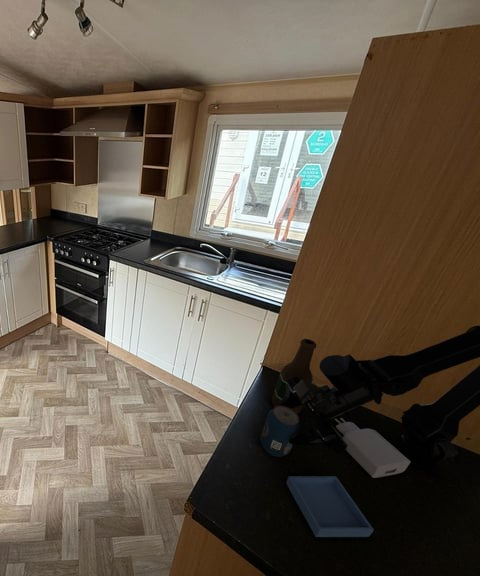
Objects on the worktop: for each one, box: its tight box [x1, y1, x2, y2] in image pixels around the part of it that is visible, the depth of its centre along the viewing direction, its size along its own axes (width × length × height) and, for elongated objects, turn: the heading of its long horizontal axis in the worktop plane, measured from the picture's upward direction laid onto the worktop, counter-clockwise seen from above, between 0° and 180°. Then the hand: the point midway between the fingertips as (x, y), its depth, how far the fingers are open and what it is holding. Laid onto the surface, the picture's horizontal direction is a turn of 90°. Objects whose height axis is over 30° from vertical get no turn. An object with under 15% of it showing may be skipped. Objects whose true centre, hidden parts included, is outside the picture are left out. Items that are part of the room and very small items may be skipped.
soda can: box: [259, 406, 301, 458], centre depth 79 cm, size 7×7×12 cm
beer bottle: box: [271, 338, 317, 414], centre depth 89 cm, size 8×8×24 cm
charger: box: [334, 417, 410, 479], centre depth 81 cm, size 5×9×15 cm
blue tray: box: [285, 475, 375, 538], centre depth 68 cm, size 11×11×3 cm
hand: (281, 426), depth 78 cm, fingers open, 9 cm apart
